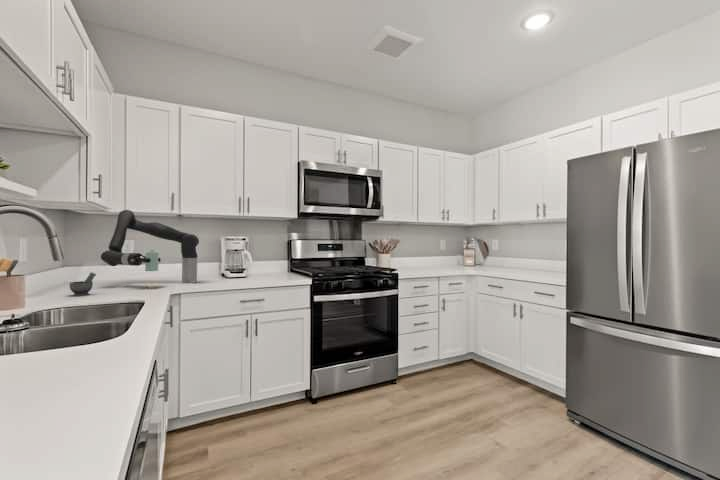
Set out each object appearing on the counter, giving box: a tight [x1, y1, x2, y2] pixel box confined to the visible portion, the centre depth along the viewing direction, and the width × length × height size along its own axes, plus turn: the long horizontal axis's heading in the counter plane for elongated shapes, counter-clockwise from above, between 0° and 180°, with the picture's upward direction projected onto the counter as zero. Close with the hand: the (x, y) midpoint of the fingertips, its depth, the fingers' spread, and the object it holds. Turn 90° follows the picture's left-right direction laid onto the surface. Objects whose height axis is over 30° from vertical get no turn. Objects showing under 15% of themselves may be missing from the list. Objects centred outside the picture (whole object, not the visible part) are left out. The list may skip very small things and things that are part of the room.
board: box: [138, 285, 167, 290], centre depth 206 cm, size 13×11×1 cm
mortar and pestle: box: [69, 272, 97, 297], centre depth 183 cm, size 11×9×12 cm
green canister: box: [144, 249, 159, 272], centre depth 206 cm, size 6×6×12 cm
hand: (155, 260), depth 205 cm, fingers closed on green canister, 6 cm apart
